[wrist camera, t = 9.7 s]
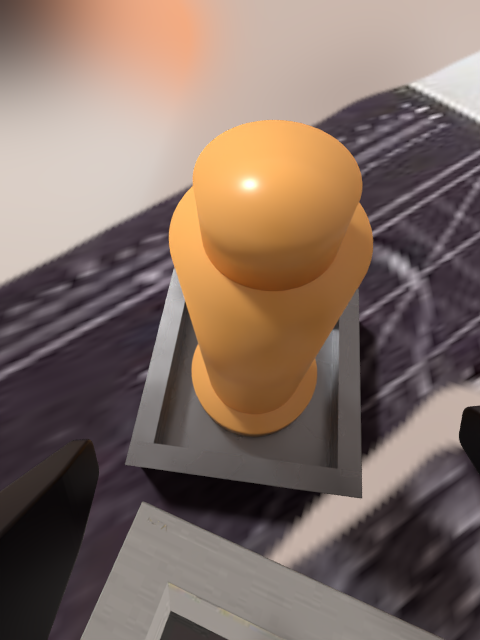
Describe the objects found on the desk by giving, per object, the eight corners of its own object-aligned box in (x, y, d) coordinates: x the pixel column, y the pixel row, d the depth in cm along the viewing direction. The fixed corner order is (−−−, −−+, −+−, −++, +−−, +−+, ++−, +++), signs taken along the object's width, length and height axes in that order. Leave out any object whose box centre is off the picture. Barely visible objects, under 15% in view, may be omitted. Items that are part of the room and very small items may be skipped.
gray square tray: (345, 495, 17) (362, 498, 14) (140, 466, 17) (124, 464, 15) (345, 309, 21) (358, 288, 18) (181, 291, 21) (173, 268, 19)
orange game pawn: (332, 406, 17) (530, 246, 6) (221, 458, 16) (171, 399, 5) (279, 307, 20) (337, 48, 8) (179, 347, 19) (72, 118, 7)
